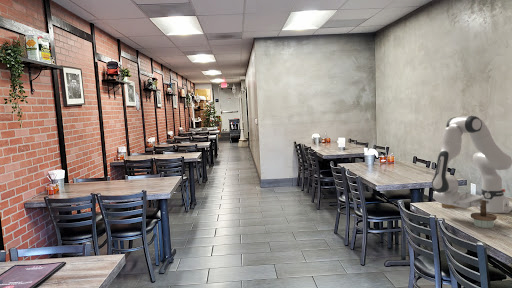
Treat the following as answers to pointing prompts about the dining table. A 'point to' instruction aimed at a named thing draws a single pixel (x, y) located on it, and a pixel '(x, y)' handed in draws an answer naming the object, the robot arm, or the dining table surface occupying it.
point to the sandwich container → (448, 206)
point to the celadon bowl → (484, 223)
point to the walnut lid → (483, 213)
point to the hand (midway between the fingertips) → (484, 203)
